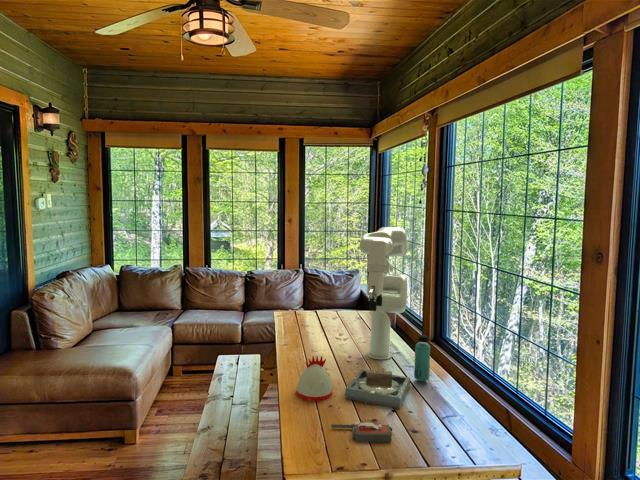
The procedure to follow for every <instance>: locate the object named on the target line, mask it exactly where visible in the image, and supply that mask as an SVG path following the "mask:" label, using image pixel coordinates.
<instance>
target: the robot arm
mask: <svg viewBox="0 0 640 480" xmlns="http://www.w3.org/2000/svg"><path fill="white" fill-rule="evenodd" d="M359 250H360V252H361V253H362V254H364V255H365V254H366V255H368V256H367V272H368V276H367V277H368V278H367V285H366V288H367V289H366V295H367V296H368V311H370V336H369V338H370V339H369V350H367V351H366V356H367V357H368V358H371V359H373V360H389V359H392V358H393V352H391V351H390V346H391V345H390V344H391V343H390V342H391V319H390V316H388V314H387V313H394V314H402V313H405V311H406V308H407V301H408V300H407V298H408V297H407V296H408V295H407V294H408V278H407V276H405V275H404V274H401V273H394V265H393V263H392V262H391V261H390V260H389V258H387V257H398V258H399V257H400V258H401V257H404V256H405V255H407V251H408V239H407V233H406V230H405V229H404V228H403V227H396V226H394V227H393V226H386V227H385V226H382V227H380V228H379V229H378V230H377V231H374V232H370V233H365V234H364V235H363V236H362V237H361V239H360V241H359Z"/></svg>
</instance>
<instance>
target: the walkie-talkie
mask: <svg viewBox="0 0 640 480" xmlns="http://www.w3.org/2000/svg"><path fill="white" fill-rule="evenodd" d="M330 427H331V428H334V429H335V428H336V429H337V428H339V429H340V428H341V429H343V428H344V429H352V438H353V439H354V440H355V442H358V443H359V442H361V443H362V442H366V443H367V442H369V443H371V442H372V443H373V442H375V443H391V442H392V436H393V435H392V433H393V432H392V431H393V428H392V427H391V426H390V425H389V424H381V423H379V424H374V423H373V422H364V421H363V422H358V421H355V422H354V424H353V423H351V424H344V423H343V424H338V423H337V424H335V423H334V424H333V423H332V424H330Z"/></svg>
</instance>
